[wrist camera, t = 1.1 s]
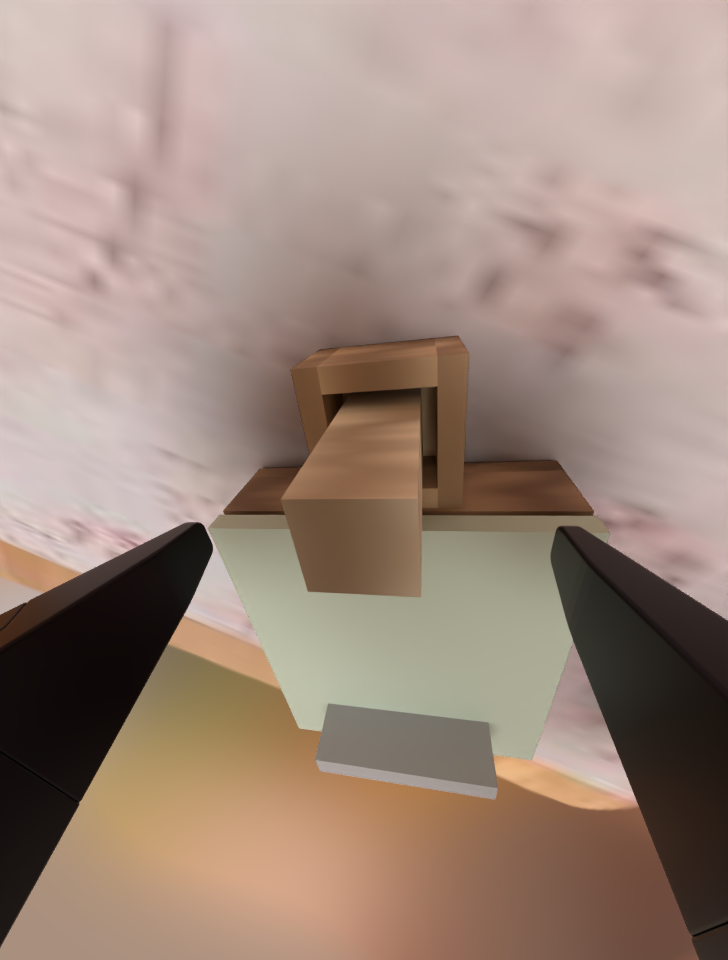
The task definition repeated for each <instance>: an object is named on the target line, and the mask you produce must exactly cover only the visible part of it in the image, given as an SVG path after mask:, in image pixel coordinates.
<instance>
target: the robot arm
mask: <svg viewBox="0 0 728 960" xmlns="http://www.w3.org/2000/svg"><path fill="white" fill-rule="evenodd" d="M212 552H213V545H212V542H211V540H210V538H209V536H208V534H207V531H206V529H205V527H204V525H203V524H201V523H199V522H187V523H184V524H182V525H180V526H178V527H176V528H174V529H172V530H170V531H168V532H166V533H164V534H162V535H160V536H158V537H156V538H154V539H152V540H150V541H148V542H146V543H144V544H142V545H140V546H138V547H136V548H134V549H132V550H130V551H128V552H126V553H124V554H122V555H120V556H118V557H116V558H114V559H112V560H110V561H107V562H105V563H103V564H101V565H99V566H97V567H95V568H93V569H91V570H89V571H87V572H85V573H83V574H81V575H79V576H77V577H75V578H73V579H71V580H69V581H67V582H65V583H63V584H61V585H59V586H57V587H55V588H53V589H51V590H49V591H47V592H45V593H43V594H41V595H40V596H37V597H35V598H33V599H31V600H30V601H29V602H28V603H23V604H21V605H19V606H17V607H15V608H13V609H11V610H9V611H7V612H5V613H3V614H1V615H0V947H1V946H2V944H3V942H4V940H5V938H6V936H7V935H8V933H9V931H10V929H11V927H12V925H13V924H14V922H15V920H16V918H17V917H18V915H19V913H20V911H21V909H22V908H23V906H24V904H25V902H26V900H27V898H28V896H29V895H30V893H31V891H32V889H33V888H34V886H35V884H36V882H37V880H38V878H39V876H40V875H41V873H42V871H43V869H44V868H45V866H46V864H47V862H48V860H49V858H50V856H51V855H52V853H53V851H54V850H55V848H56V846H57V844H58V842H59V841H60V839H61V837H62V835H63V833H64V831H65V830H66V828H67V826H68V824H69V822H70V821H71V819H72V817H73V815H74V813H75V812H76V810H77V808H78V806H79V802H80V801H81V800H82V798H83V796H84V794H85V793H86V791H87V789H88V787H89V786H90V784H91V781H92V780H93V778H94V776H95V775H96V773H97V771H98V769H99V767H100V766H101V764H102V762H103V760H104V758H105V757H106V755H107V753H108V751H109V749H110V748H111V746H112V744H113V742H114V740H115V739H116V737H117V735H118V733H119V731H120V729H121V728H122V726H123V724H124V722H125V720H126V719H127V717H128V715H129V713H130V711H131V710H132V708H133V706H134V704H135V702H136V701H137V699H138V697H139V695H140V693H141V691H142V690H143V688H144V686H145V684H146V682H147V681H148V679H149V677H150V675H151V673H152V672H153V670H154V668H155V666H156V664H157V663H158V661H159V659H160V657H161V655H162V654H163V652H164V650H165V648H166V646H167V645H168V643H169V641H170V639H171V637H172V635H173V634H174V632H175V630H176V628H177V626H178V625H179V623H180V621H181V619H182V617H183V616H184V614H185V612H186V610H187V608H188V606H189V604H190V602H191V600H192V598H193V596H194V594H195V592H196V589H197V587H198V585H199V582H200V580H201V578H202V576H203V573H204V571H205V569H206V566H207V564H208V562H209V560H210V557H211V555H212ZM550 560H551V565H552V569H553V572H554V576H555V580H556V584H557V588H558V591H559V595H560V599H561V603H562V606H563V610H564V614H565V617H566V621H567V624H568V628H569V630H570V633H571V636H572V638H573V641H574V644H575V646H576V649H577V651H578V654H579V656H580V659H581V661H582V664H583V666H584V669H585V671H586V674H587V676H588V679H589V681H590V684H591V686H592V689H593V692H594V694H595V697H596V699H597V702H598V704H599V707H600V709H601V712H602V714H603V717H604V719H605V722H606V724H607V727H608V729H609V732H610V734H611V737H612V740H613V742H614V745H615V747H616V750H617V752H618V755H619V757H620V760H621V762H622V765H623V767H624V770H625V772H626V775H627V777H628V780H629V782H630V785H631V788H632V790H633V793H634V795H635V798H636V800H637V803H638V805H639V808H640V810H641V813H642V815H643V818H644V820H645V822H646V825H647V828H648V831H649V833H650V835H651V838H652V841H653V843H654V846H655V848H656V851H657V853H658V855H659V858H660V860H661V863H662V866H663V868H664V871H665V873H666V876H667V879H668V881H669V884H670V886H671V889H672V891H673V894H674V896H675V899H676V901H677V904H678V906H679V909H680V911H681V914H682V916H683V919H684V921H685V924H686V927H687V929H688V931H689V933H690V934H691V935H692V936H693V937H692V938H691V939H692V942H693V945H694V948H695V950H696V953H697V955H698V958H699V960H728V620H726V619H724V618H723V617H721V616H720V615H718V614H717V613H715V612H713V611H712V610H710V609H709V608H707V607H706V606H704V605H702V604H701V603H699V602H698V601H696V600H695V599H693V598H691V597H690V596H688V595H687V594H685V593H684V592H682V591H680V590H679V589H677V588H676V587H674V586H673V585H671V584H670V583H668V582H666V581H665V580H663V579H662V578H660V577H659V576H657V575H655V574H654V573H652V572H651V571H649V570H648V569H646V568H644V567H643V566H641V565H640V564H638V563H637V562H635V561H633V560H632V559H630V558H629V557H627V556H626V555H624V554H623V553H621V552H619V551H618V550H616V549H615V548H613V547H612V546H610V545H608V544H607V543H605V542H604V541H602V540H601V539H599V538H597V537H596V536H594V535H593V534H591V533H590V532H588V531H586V530H585V529H583V528H582V527H580V526H559V527H557V529H556V531H555V536H554V540H553V544H552V549H551V554H550Z"/></svg>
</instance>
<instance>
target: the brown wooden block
mask: <svg viewBox="0 0 728 960" xmlns="http://www.w3.org/2000/svg"><path fill="white" fill-rule="evenodd" d="M422 473H423V434H422V396H421V388H409V389H395V390H381V391H367V392H353V393H350V395H349V396H348V398H347V399H346V401H345V402H344V404H343V405H342V407H341V408H340V410H339V411H338V413H337V414H336V416H335V417H334V419H333V420H332V422H331V423H330V425H329V427H328V428H327V430H326V431H325V433H324V434H323V436H322V437H321V439H320V440H319V442H318V443H317V445H316V446H315V448H314V449H313V451H312V452H311V454H310V455H309V457H308V458H307V460H306V462H305V463H304V465H303V466H302V468H301V469H300V471H299V472H298V474H297V475H296V477H295V478H294V480H293V481H292V483H291V484H290V486H289V487H288V489H287V490H286V492H285V493H284V495H283V496H282V498H281V503H282V506H283V509H284V513H285V516H286V520H287V523H288V526H289V530H290V533H291V536H292V540H293V543H294V547H295V550H296V553H297V557H298V560H299V564H300V567H301V570H302V574H303V577H304V580H305V584H306V587H307V591H308V592H322V593H342V594H361V595H381V596H401V597H420V598H421V572H422Z"/></svg>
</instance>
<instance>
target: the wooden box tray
mask: <svg viewBox="0 0 728 960" xmlns="http://www.w3.org/2000/svg"><path fill="white" fill-rule="evenodd" d="M468 364H469V353H468V351H467V349H466V348H465V346H464V344H463V343H462V341H461V340H460V338H459V336H451V337H441V338H431V339H421V340H411V341H401V342H391V343H381V344H371V345H361V346H351V347H341V348H331V349H321V350H319V351H317V352H316V353H314V354H313V355H311V356H310V357H308V358H307V359H305V360H304V361H302V362H301V363H299V364H298V365H296V366H295V367H293V368H292V369H290V370H291V375H292V379H293V384H294V388H295V393H296V397H297V402H298V406H299V411H300V415H301V419H302V424H303V428H304V433H305V437H306V442H307V446H308V451H309V455H310V454H311V452H312V451H313V449H314V448H315V446H316V445H317V443H318V442H319V440H320V439H321V437H322V436H323V434H324V433H325V431H326V430H327V428H328V427H329V425H330V423H331V422H332V420H333V419H334V417H335V416H336V414H337V413H338V411H339V410H340V408H341V407H342V405H343V404H344V402H345V401H346V399H347V398H348V396H349V395H350V393H353V392H367V391H381V390H395V389H409V388H421V396H422V434H423V473H422V515H469V516H593V513H594V510H593V509H592V508H591V506H590V505H589V504H588V502H587V501H586V499H585V498H584V497H583V495H582V494H581V493H580V491H579V490H578V489H577V487H576V486H575V485H574V483H573V482H572V480H571V479H570V478H569V476H568V475H567V474H566V472H565V471H564V470H563V468H562V467H561V465H560V464H559V463H558V461H523V462H486V463H464V452H465V430H466V408H467V386H468ZM301 468H302V467H300V468H263V469H259V470H258V472H257V473H256V474H255V475H254V476H253V477H252V478H251V480H250V481H249V482H248V483H247V484H246V485H245V486H244V488H243V489H242V490H241V491H240V492H239V493H238V494H237V496H236V497H235V498H234V499H233V500H232V501H231V502H230V504H229V505H228V506H227V507H226V508H225V509H224V510H223V512H224V514H225V515H285V513H284V509H283V506H282V503H281V498H282V496H283V495H284V493H285V492H286V490H287V489H288V487H289V486H290V484H291V483H292V481H293V480H294V478H295V477H296V475H297V474H298V472H299V471H300V469H301Z"/></svg>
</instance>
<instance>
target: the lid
mask: <svg viewBox="0 0 728 960" xmlns="http://www.w3.org/2000/svg"><path fill="white" fill-rule="evenodd" d="M559 526H580V527H582V528H583V529H585V530H586V531H588V532H590V533H591V534H593V535H594V536H596V537H597V538H599V539H601V540H602V541H604V542H605V543H607V541H608V538H609V535H610V532H609V531H608V529H607V528H606V527H605V525H604V524H603V523H602V521H601V520H600V519H599V517H598V516H469V515H422V572H421V598H420V597H401V596H381V595H361V594H342V593H322V592H308V591H307V587H306V584H305V580H304V577H303V574H302V570H301V567H300V564H299V560H298V557H297V553H296V550H295V547H294V543H293V540H292V536H291V533H290V530H289V526H288V523H287V520H286V516H285V515H219V516H218V517H217V519H216V520H215V521H214V522H213V523H212V524H211V525H210V527H209V528H208V529H209V532H210V534H211V536H212V538H213V540H214V543H215V545H216V547H217V549H218V551H219V554H220V556H221V558H222V560H223V562H224V565H225V567H226V569H227V571H228V573H229V576H230V578H231V580H232V582H233V584H234V586H235V589H236V591H237V593H238V595H239V597H240V600H241V602H242V604H243V606H244V608H245V611H246V613H247V615H248V617H249V619H250V622H251V624H252V626H253V628H254V630H255V633H256V635H257V637H258V639H259V641H260V643H261V646H262V648H263V650H264V652H265V654H266V657H267V659H268V661H269V663H270V665H271V668H272V670H273V672H274V674H275V676H276V679H277V681H278V683H279V685H280V687H281V689H282V692H283V694H284V696H285V698H286V700H287V703H288V705H289V707H290V709H291V711H292V714H293V716H294V718H295V720H296V722H297V724H298V727H299V728H301V729H308V730H315V731H322V733H321V737H320V741H319V745H318V750H317V754H316V759H315V761H316V763H317V765H318V767H319V769H320V771H323V772H329V773H336V774H341V775H347V776H354V777H360V778H366V779H373V780H378V781H384V782H391V783H397V784H403V785H409V786H415V787H422V788H428V789H434V790H440V791H446V792H453V793H459V794H465V795H471V796H477V797H483V798H489V799H495V798H496V794H497V790H498V786H497V779H496V772H495V765H494V758H493V755H497V756H505V757H512V758H519V759H526V760H532V759H533V756H534V753H535V750H536V748H537V745H538V742H539V739H540V736H541V733H542V730H543V727H544V724H545V721H546V718H547V716H548V713H549V710H550V707H551V704H552V701H553V698H554V695H555V692H556V689H557V686H558V684H559V681H560V678H561V675H562V672H563V669H564V666H565V663H566V660H567V657H568V654H569V652H570V649H571V646H572V643H573V638H572V636H571V633H570V630H569V628H568V624H567V621H566V617H565V614H564V610H563V606H562V603H561V599H560V595H559V591H558V588H557V584H556V580H555V576H554V572H553V569H552V565H551V560H550V554H551V549H552V544H553V540H554V536H555V531H556V529H557V527H559Z"/></svg>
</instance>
